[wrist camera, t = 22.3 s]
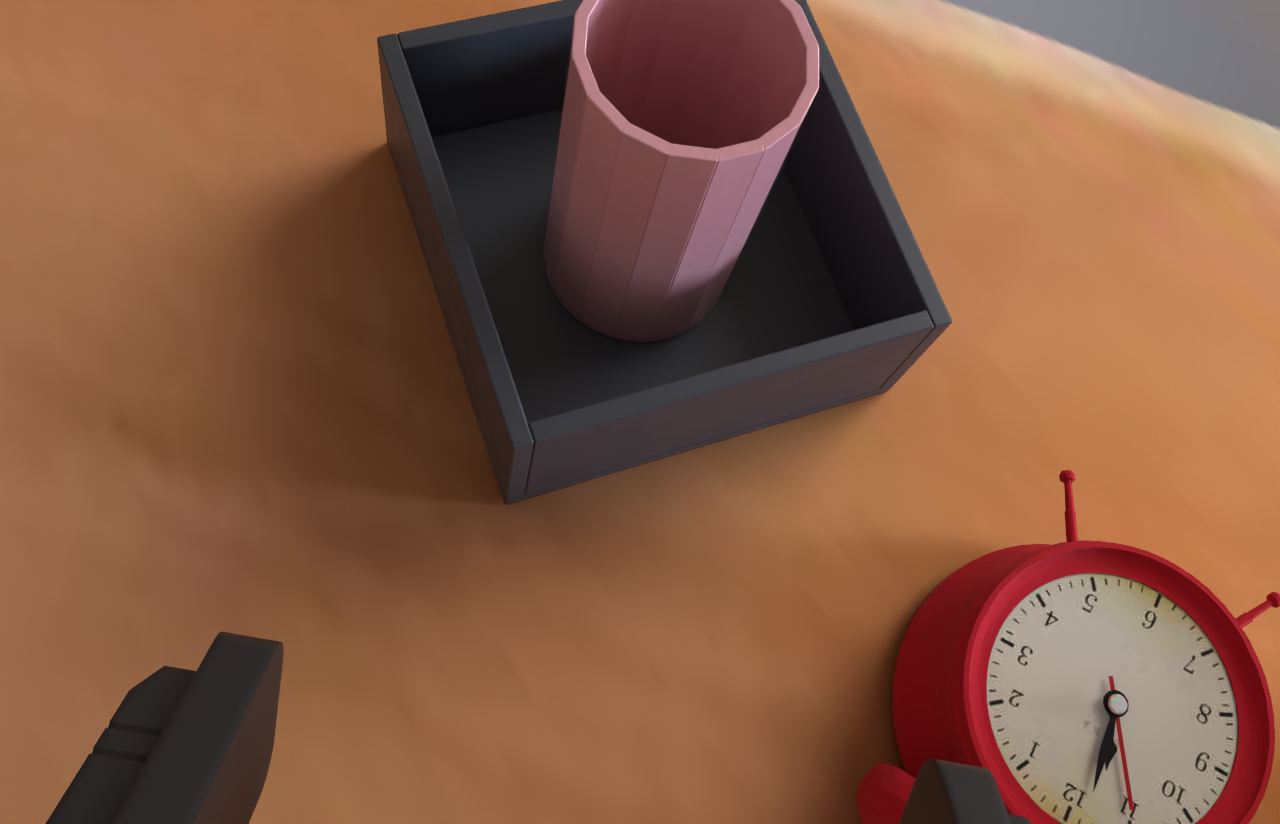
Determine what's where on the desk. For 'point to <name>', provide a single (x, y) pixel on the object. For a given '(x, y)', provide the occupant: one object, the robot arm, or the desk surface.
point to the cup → (669, 153)
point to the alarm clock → (1082, 689)
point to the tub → (625, 370)
